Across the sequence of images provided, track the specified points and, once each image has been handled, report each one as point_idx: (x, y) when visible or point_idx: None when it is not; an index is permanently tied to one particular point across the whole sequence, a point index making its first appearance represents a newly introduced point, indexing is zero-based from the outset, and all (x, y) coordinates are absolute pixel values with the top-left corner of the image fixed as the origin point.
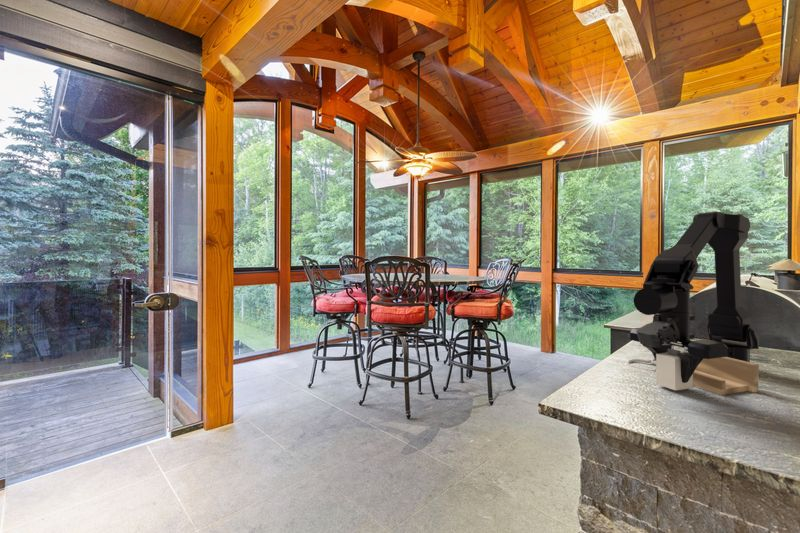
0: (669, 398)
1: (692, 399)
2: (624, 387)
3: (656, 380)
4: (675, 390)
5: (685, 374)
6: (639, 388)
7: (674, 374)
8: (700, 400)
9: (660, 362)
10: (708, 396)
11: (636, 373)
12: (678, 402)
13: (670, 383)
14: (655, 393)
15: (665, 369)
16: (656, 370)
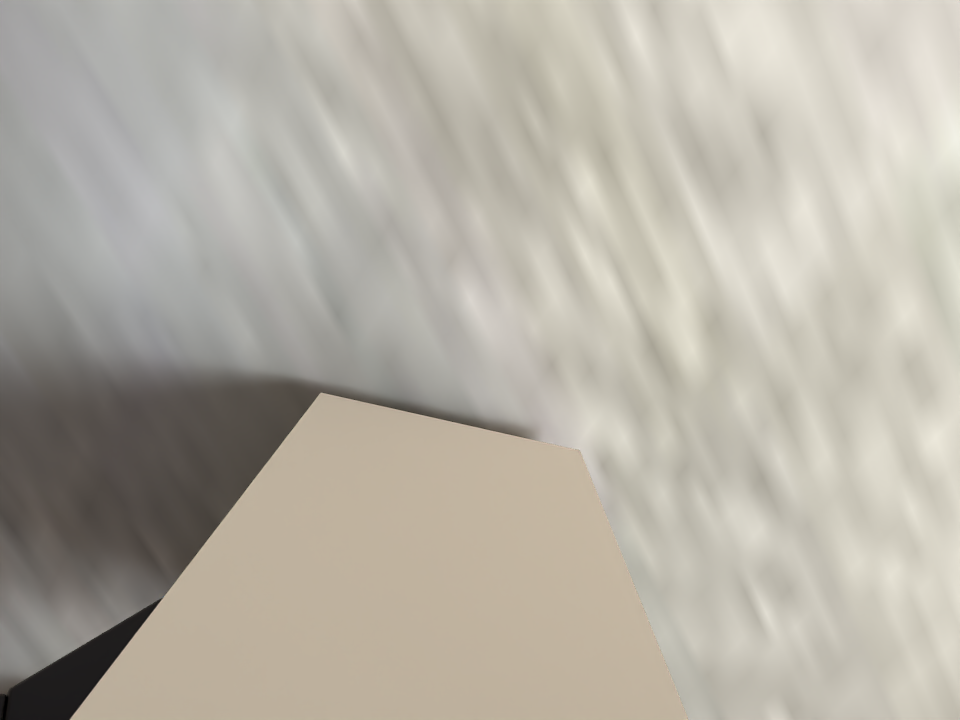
0: (257, 138)
1: (122, 344)
2: (824, 32)
3: (584, 469)
4: (320, 399)
5: (120, 630)
6: (668, 184)
7: (240, 507)
8: (67, 385)
9: (570, 714)
10: (118, 567)
11: (913, 670)
12: (117, 86)
13: (368, 435)
14: (451, 172)
15: (436, 582)
16: (620, 563)
